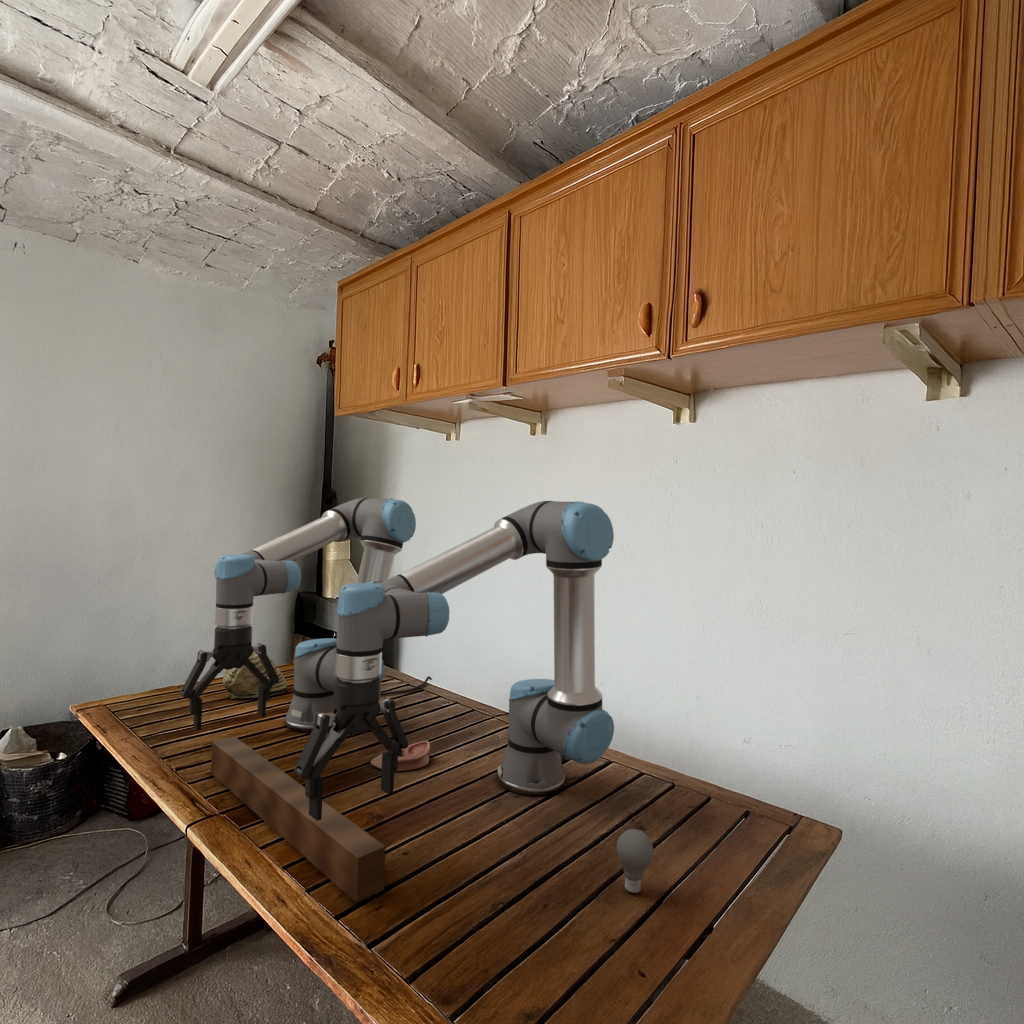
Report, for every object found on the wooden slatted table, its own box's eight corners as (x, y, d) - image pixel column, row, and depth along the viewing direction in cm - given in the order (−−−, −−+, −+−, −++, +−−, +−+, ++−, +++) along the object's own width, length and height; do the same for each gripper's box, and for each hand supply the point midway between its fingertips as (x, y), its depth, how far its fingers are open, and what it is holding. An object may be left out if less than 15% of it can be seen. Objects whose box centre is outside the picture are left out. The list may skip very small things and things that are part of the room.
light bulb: (610, 879, 108) (613, 822, 108) (644, 879, 109) (647, 822, 109) (619, 902, 102) (622, 840, 102) (655, 901, 103) (658, 840, 103)
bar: (210, 773, 142) (211, 741, 142) (233, 767, 146) (234, 736, 146) (356, 903, 100) (358, 857, 99) (383, 890, 103) (385, 846, 103)
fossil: (218, 695, 195) (220, 647, 195) (278, 685, 208) (279, 640, 207) (228, 703, 189) (230, 653, 188) (289, 692, 201) (290, 645, 201)
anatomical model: (365, 751, 148) (384, 733, 160) (364, 767, 148) (384, 749, 160) (419, 758, 146) (435, 740, 157) (418, 775, 146) (434, 756, 157)
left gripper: (176, 635, 127) (172, 740, 128) (296, 622, 144) (292, 715, 145) (166, 628, 133) (162, 729, 133) (282, 617, 150) (279, 706, 150)
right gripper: (298, 696, 94) (292, 838, 94) (431, 670, 111) (426, 789, 112) (275, 684, 99) (269, 819, 99) (406, 661, 117) (401, 775, 117)
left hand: (230, 722), depth 139 cm, fingers open, 13 cm apart
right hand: (352, 803), depth 106 cm, fingers open, 13 cm apart
